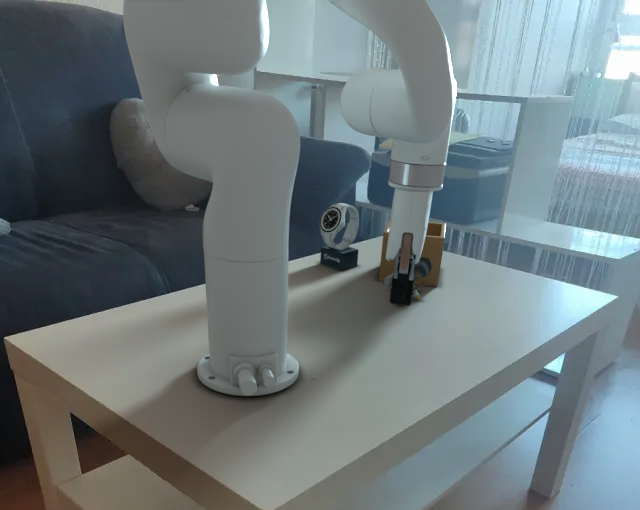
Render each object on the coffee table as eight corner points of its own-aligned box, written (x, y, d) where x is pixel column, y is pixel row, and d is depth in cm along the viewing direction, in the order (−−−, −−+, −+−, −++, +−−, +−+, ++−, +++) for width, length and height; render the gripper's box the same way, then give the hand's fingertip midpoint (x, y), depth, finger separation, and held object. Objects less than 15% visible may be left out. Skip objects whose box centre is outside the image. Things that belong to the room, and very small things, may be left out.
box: (437, 286, 111) (444, 238, 106) (378, 280, 112) (383, 232, 108) (439, 268, 120) (445, 223, 115) (384, 263, 121) (389, 218, 117)
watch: (313, 265, 118) (315, 204, 112) (342, 257, 123) (345, 198, 117) (334, 272, 115) (338, 210, 109) (363, 264, 120) (368, 204, 114)
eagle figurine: (435, 303, 100) (441, 276, 107) (415, 266, 97) (422, 240, 103) (393, 320, 104) (401, 293, 111) (372, 285, 101) (381, 259, 107)
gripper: (393, 164, 93) (380, 284, 103) (384, 182, 81) (370, 317, 90) (444, 169, 92) (426, 290, 102) (443, 187, 80) (423, 323, 89)
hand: (400, 302), depth 96 cm, fingers closed
